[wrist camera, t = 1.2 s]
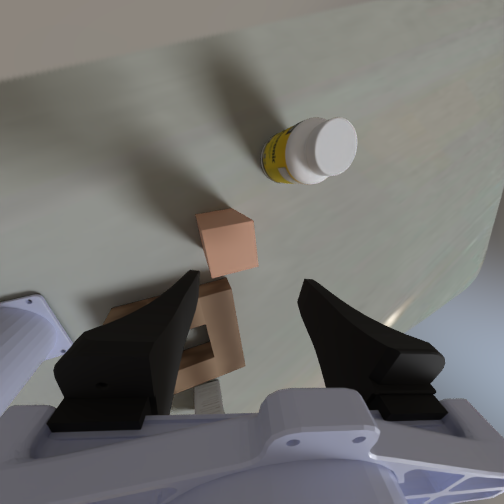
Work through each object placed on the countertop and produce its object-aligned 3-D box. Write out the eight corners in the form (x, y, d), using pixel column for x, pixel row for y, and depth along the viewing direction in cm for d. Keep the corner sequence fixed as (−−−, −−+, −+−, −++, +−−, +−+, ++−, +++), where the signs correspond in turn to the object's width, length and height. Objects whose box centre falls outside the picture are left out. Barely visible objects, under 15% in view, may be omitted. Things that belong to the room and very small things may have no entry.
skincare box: (220, 402, 34) (237, 502, 24) (194, 410, 33) (199, 521, 22) (219, 377, 32) (237, 476, 22) (191, 385, 31) (196, 494, 20)
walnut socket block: (149, 384, 28) (145, 405, 25) (111, 308, 23) (102, 325, 20) (240, 350, 32) (245, 366, 29) (226, 277, 26) (231, 288, 24)
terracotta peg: (203, 249, 24) (212, 278, 17) (195, 214, 22) (201, 230, 15) (236, 241, 25) (258, 266, 18) (231, 208, 23) (253, 220, 16)
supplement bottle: (277, 122, 22) (340, 84, 13) (307, 155, 24) (376, 142, 16) (250, 163, 22) (293, 153, 14) (282, 192, 25) (336, 198, 16)
